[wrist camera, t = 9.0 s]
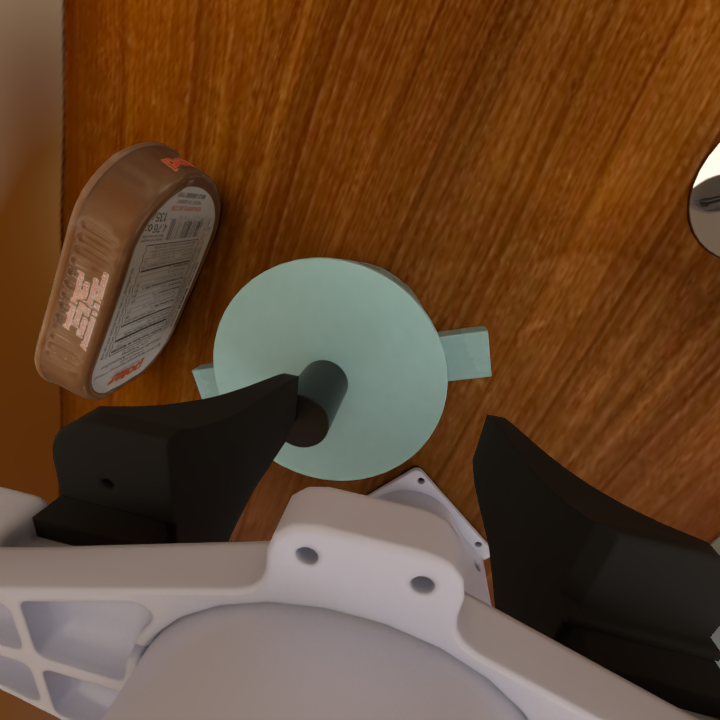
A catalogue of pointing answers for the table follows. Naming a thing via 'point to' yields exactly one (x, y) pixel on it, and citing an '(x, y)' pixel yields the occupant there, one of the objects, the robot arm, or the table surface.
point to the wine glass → (706, 203)
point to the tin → (126, 269)
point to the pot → (460, 346)
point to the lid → (338, 363)
